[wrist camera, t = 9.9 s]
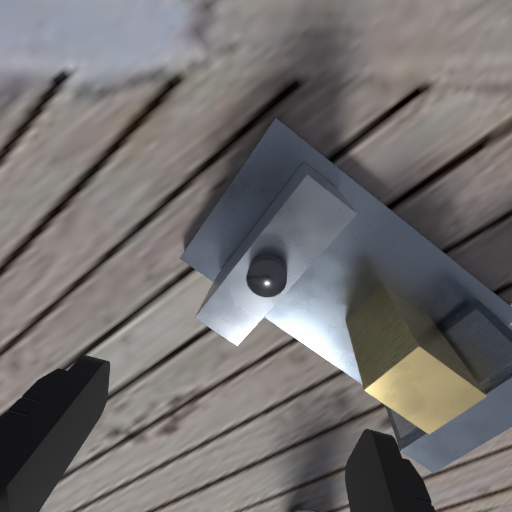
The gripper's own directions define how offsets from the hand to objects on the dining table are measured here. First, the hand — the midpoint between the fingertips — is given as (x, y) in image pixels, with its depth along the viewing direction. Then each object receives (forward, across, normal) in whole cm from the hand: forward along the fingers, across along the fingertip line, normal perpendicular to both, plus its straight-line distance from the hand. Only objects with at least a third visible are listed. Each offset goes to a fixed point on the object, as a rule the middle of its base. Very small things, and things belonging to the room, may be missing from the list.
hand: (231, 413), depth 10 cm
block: (+14, -11, +3) cm, 18 cm away
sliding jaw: (+14, 0, -1) cm, 14 cm away
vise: (+15, -6, +1) cm, 17 cm away
